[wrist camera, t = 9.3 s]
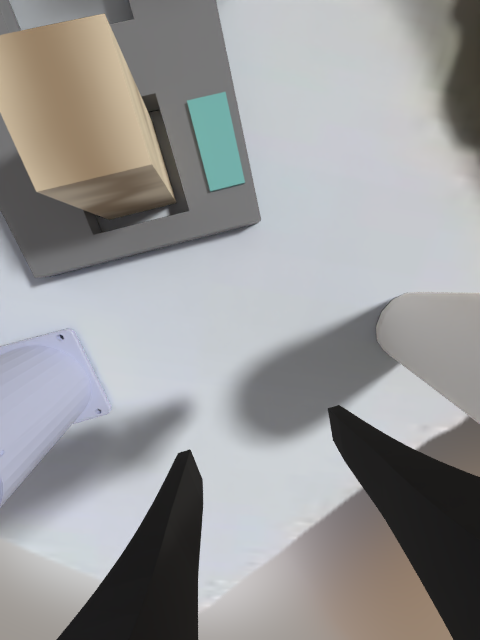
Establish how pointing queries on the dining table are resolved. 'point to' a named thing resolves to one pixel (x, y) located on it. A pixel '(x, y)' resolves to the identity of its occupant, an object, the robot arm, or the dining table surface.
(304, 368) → the dining table surface
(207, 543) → the dining table surface
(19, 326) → the dining table surface
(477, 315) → the foam cup
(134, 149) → the plug
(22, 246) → the socket panel
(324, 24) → the dining table surface
